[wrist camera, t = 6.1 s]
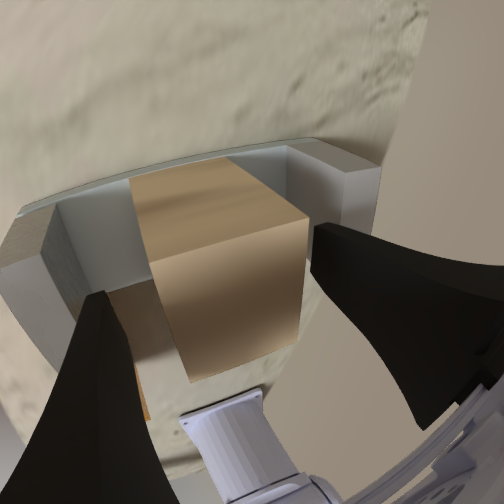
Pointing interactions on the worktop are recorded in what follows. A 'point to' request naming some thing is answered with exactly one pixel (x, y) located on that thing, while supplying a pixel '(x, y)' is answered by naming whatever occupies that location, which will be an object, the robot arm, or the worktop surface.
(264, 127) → the worktop surface
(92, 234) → the vise
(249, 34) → the worktop surface
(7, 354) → the worktop surface
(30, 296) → the free jaw
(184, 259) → the block
